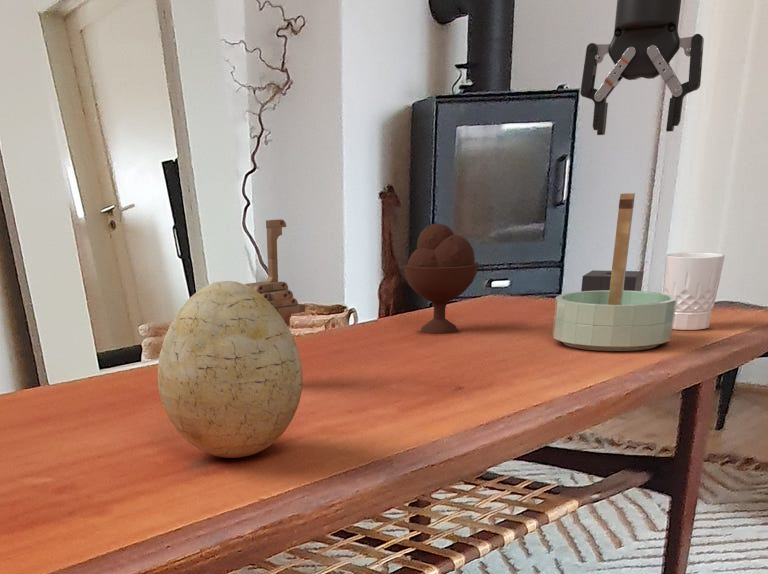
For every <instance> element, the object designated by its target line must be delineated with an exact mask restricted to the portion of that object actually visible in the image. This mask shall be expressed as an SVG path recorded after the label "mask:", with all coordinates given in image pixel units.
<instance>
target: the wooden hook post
mask: <svg viewBox="0 0 768 574" xmlns="http://www.w3.org/2000/svg"><path fill="white" fill-rule="evenodd" d="M286 227H287V222H286V221H285V220H284V219H282V218H281V219H279V218H277V219H266V220H265V228H266V251H267V279H266V280H264V281H263V280H262V281H257V282H249V283H245V284H244V285H247V286H249V287H251V288H252V289H254V290H255V291H257V292H258V293H260V294H261V295H262V296H263V297H264V298H265V299H267V300H268V301H269V302H270V303H271V304H272V305H273V307H274V308H275V309H276V310H277V312H278V313H279V314H280V315H281V317H282V318H283V320H284V321H285V323H286V325H287V326H288V327H290V326H291V318H292V315H295V314H301V313H305V312H306V304H304V303H299V302H298V299H296V298H295V297H294V293H293V292H292V290H290V289H289V285H288V283H286V281H279V268H278V267H279V264H278V239H279V237H280V236H282V235H283V228H286Z"/></svg>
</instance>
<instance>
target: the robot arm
mask: <svg viewBox="0 0 768 574" xmlns="http://www.w3.org/2000/svg"><path fill="white" fill-rule="evenodd" d="M681 6H682V0H616V8H615V9H616V10H615V19H614V29H613V30H614V31H613V36H612V39H611V41H610V42H609V43H607V44H606V43H604V44H601V43H600V44H599V43H598V44H597V43H594V42H590V43H588V44H587V46H586V50H585V56H584V63H583V72H582V79H581V85H580V95H581V97H583V98H586V99H589V100H591V101H592V102H593V103H594V107H593V119H592V129H593V131H596V135H597V136H605V135H606V128H607V120H608V109H609V102H607V99H608V98H609V96H610V95H611V94H612V92H613V91H614V90H615V88H616V87H617V86H618V85H619V84H620V82H621V81H622V80H623V79H625V80H627V81H636V80H638V79H641V78H642V79H648V80H651V79H655V78H657V77H659V76H660V77H661V79H662V80H663V82H664V83H665V84H666V86H667V88H668V90H669V91H670V93H671V94H672V95H671V97H670V98H669V103H668V111H667V120H666V126H665V127H666V129H665V131H666V132H674V129H675V127H678V126H679V125H680V123H681V119H682V110H683V102H684V99H685V97H686V95H688V94H691V93H692V92H695V91H698V90H699V89H700V87H701V84H702V83H701V82H702V80H701V79H702V70H703V56H704V55H703V54H704V43H705V39H704V37H703V35H702V34H701V33H695V34H693V36H687V37H680V35H679V23H680V16H681V15H680V14H681ZM681 48H682V49H683V53H684V55H685V56H686V57H689V69H688V81H685V82H683V83H681V81H680V80H679V78H678V76H677V74H676V73H675V71H674V69H673V68H672V66H671V64H670V62H671V61H672V60H673V58H674V57H675V55H676V54H677V53H678V52H679V50H680V49H681ZM606 55H609V57H610V59H611V61H612V62H613V65H614V66H613V68H612V69H611V71H610V72H609V73H608V75H607V76H606V77H605V78H604V81H603V82H602V84H600V87H599V88H598V89H597V88H595V83H596V75H597V70H598V65H599V64H601V63H603V61H604V58H605V57H606Z"/></svg>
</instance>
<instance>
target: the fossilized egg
mask: <svg viewBox="0 0 768 574" xmlns="http://www.w3.org/2000/svg"><path fill="white" fill-rule="evenodd" d="M156 373H157V387H158V388H157V389H158V393H159V397H160V401H161V404H162V407H163V409H164V412H165V413H166V415H167V417H168V419H169V421H170V423H171V424H172V426H173V427H174V428H175V430H176V431H177V432H178V433H179V435H180V436H181V437H182V438H183V439H184V440H185V441H187V442H188V443H189V444H191V445H192V446H194V447H195V448H196V449H198V450H199V451H202V452H204V453H206V454H209V455H211V456H214V457H219V458H226V459H227V458H228V459H236V458H237V459H238V458H244V457H249V456H253V455H256V454H258V453H259V452H262V451H264V450H265V449H267V448H269V447H270V446H272V444H274V443H275V442H276V441H277V440H278V439H279V438H281V436H282V435H283V434H284V433H285V432H286V430H287V429H288V428H289V426H290V424H291V422H292V421H293V419H294V417H295V415H296V412H297V410H298V407H299V405H300V401H301V397H302V393H303V392H302V391H303V385H304V384H303V379H304V378H303V365H302V361H301V356H300V352H299V348H298V346H297V343H296V340H295V338H294V336H293V333H292V332H291V330H290V328H289V326H287V325H286V323H285V321H284V320H283V318H282V317H281V315H280V314H279V313H278V312H277V310H276V309H275V308H274V307H273V305H272V304H271V303H270V302H269V301H268V300H267V299H265V298H264V297H263V296H262V295H261V294H260V293H258V292H257V291H255V290H254V289H252V288H251V287H249V286H247V285H245V284H244V283H242V282H239V281H233V280H221V281H216V282H215V281H214V282H212V283H209V284H208V285H207V284H206V285H205V286H203V287H202V288H200V289H199V290H197V291H196V292H195V293H193V294H192V295H191V296H190V297H189V298H188V299H187V300H186V302H185V303H184V304H183V305H182V306H181V307H180V308H179V309H178V312H177V313H176V315H175V317H174V318H173V319H172V321H171V323H170V325H169V327H168V330H167V332H166V333H165V336H164V338H163V342H162V345H161V349H160V351H159V356H158V364H157V372H156Z"/></svg>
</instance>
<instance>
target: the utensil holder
mask: <svg viewBox="0 0 768 574" xmlns="http://www.w3.org/2000/svg"><path fill="white" fill-rule="evenodd" d="M611 272H612V270H590V271H589V272H587V273H585V274H584V275H582V279H581V287H580V288H581V289H580V291H597V290H610V281H611ZM643 278H644V270H626V273H625V281H624V290H628V291H642V286H643V280H644V279H643Z"/></svg>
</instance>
